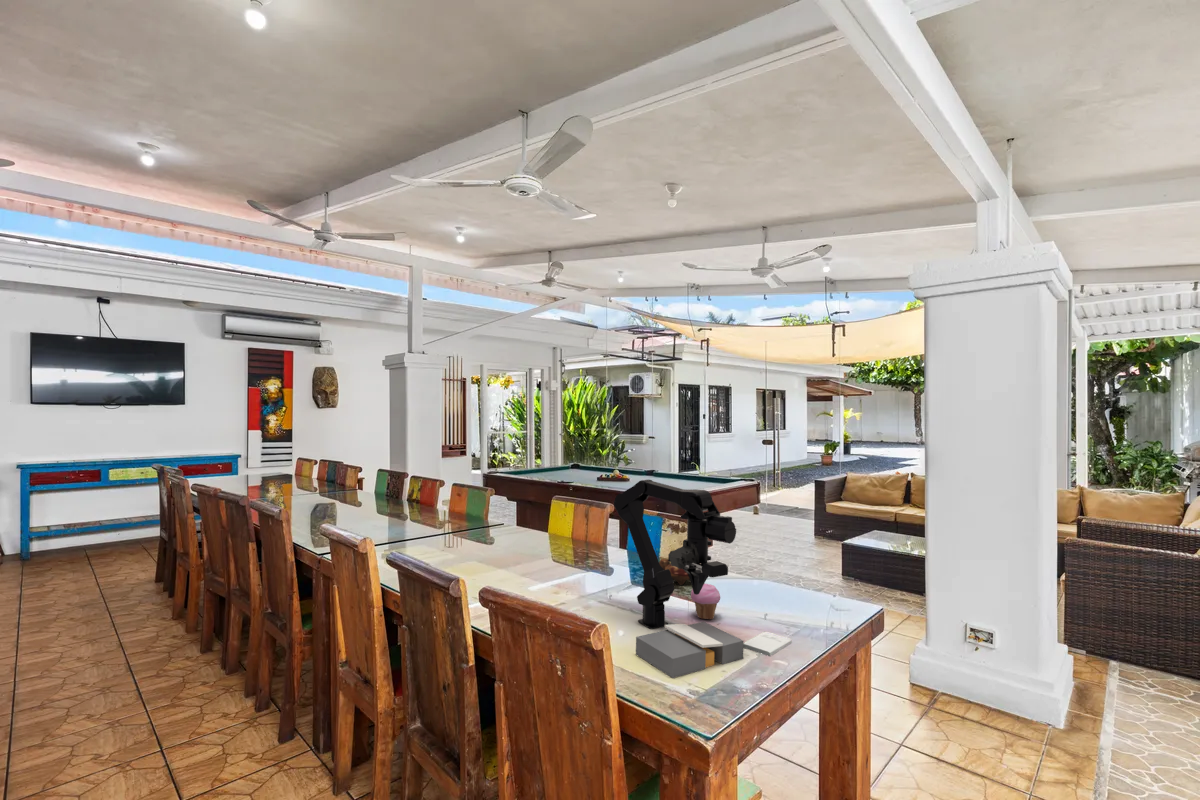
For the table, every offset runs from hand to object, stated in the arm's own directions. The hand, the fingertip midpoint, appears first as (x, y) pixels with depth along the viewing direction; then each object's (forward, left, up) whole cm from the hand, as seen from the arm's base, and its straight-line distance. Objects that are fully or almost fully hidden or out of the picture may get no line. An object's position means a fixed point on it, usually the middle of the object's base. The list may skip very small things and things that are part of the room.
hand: (696, 594), depth 167 cm
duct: (+9, -9, -12) cm, 17 cm away
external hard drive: (+13, +14, -13) cm, 23 cm away
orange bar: (+8, -10, -11) cm, 17 cm away
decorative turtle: (-42, +28, -12) cm, 52 cm away
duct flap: (+9, -8, -7) cm, 14 cm away
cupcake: (-11, +13, -12) cm, 21 cm away
